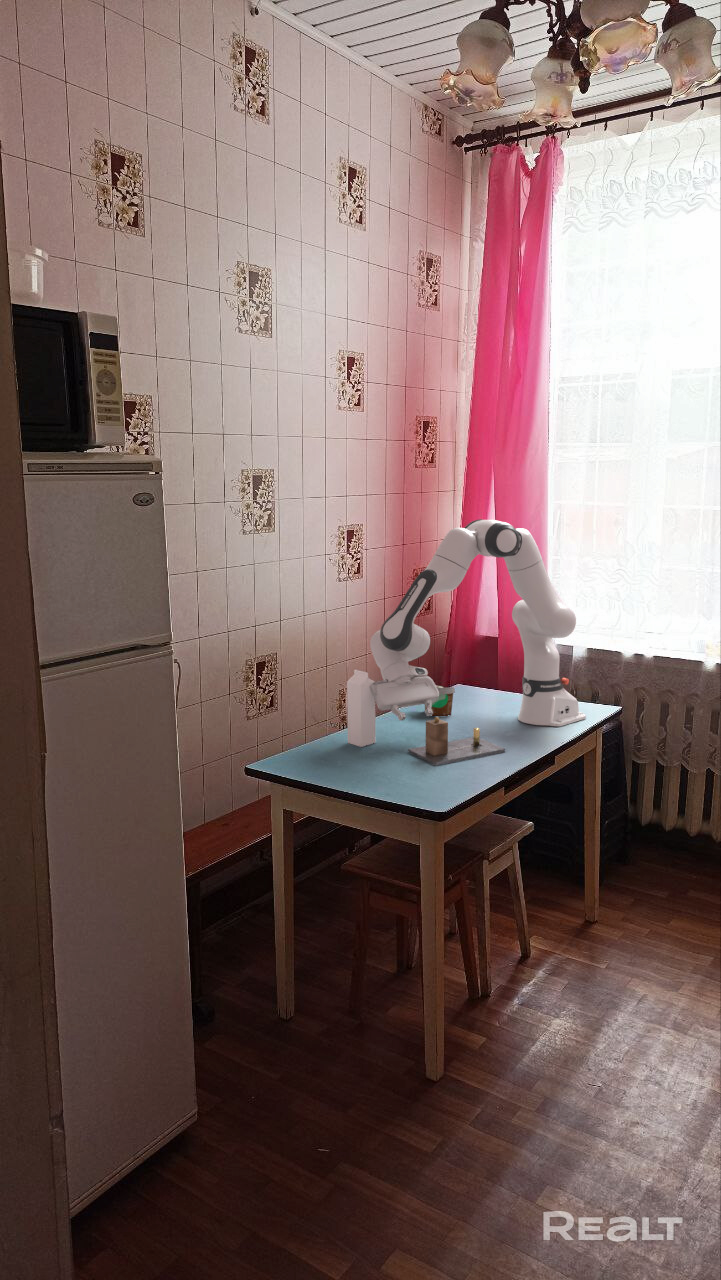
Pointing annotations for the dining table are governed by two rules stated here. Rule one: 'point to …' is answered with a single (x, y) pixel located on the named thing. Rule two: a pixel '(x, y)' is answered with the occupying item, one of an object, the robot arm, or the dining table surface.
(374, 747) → the dining table surface
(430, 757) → the bolt plate
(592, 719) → the dining table surface
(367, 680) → the milk
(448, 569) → the robot arm
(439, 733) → the walnut peg
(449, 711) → the food container
